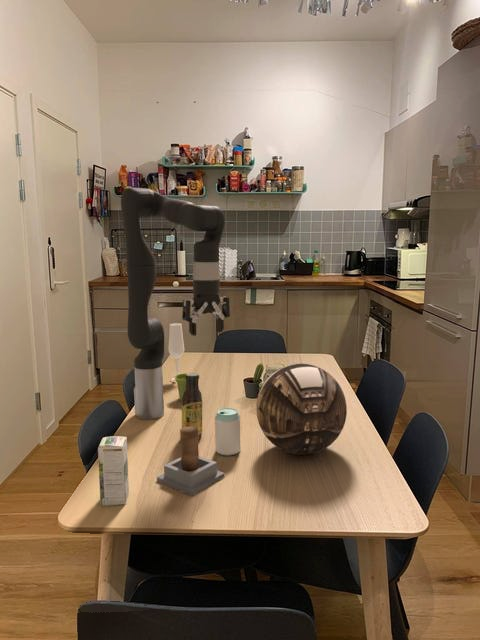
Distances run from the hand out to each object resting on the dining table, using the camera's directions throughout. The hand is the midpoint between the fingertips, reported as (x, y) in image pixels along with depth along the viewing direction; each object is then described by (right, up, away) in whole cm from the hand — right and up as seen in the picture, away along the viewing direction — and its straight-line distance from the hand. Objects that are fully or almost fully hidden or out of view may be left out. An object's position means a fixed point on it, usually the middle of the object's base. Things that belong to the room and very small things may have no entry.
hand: (206, 333), depth 146 cm
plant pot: (-10, -26, +43) cm, 51 cm away
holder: (-3, -36, -18) cm, 41 cm away
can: (+6, -34, -3) cm, 34 cm away
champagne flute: (-17, -22, +67) cm, 72 cm away
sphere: (+27, -33, -3) cm, 43 cm away
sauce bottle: (-5, -32, +7) cm, 33 cm away
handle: (-3, -35, -18) cm, 40 cm away
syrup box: (-19, -38, -28) cm, 51 cm away
